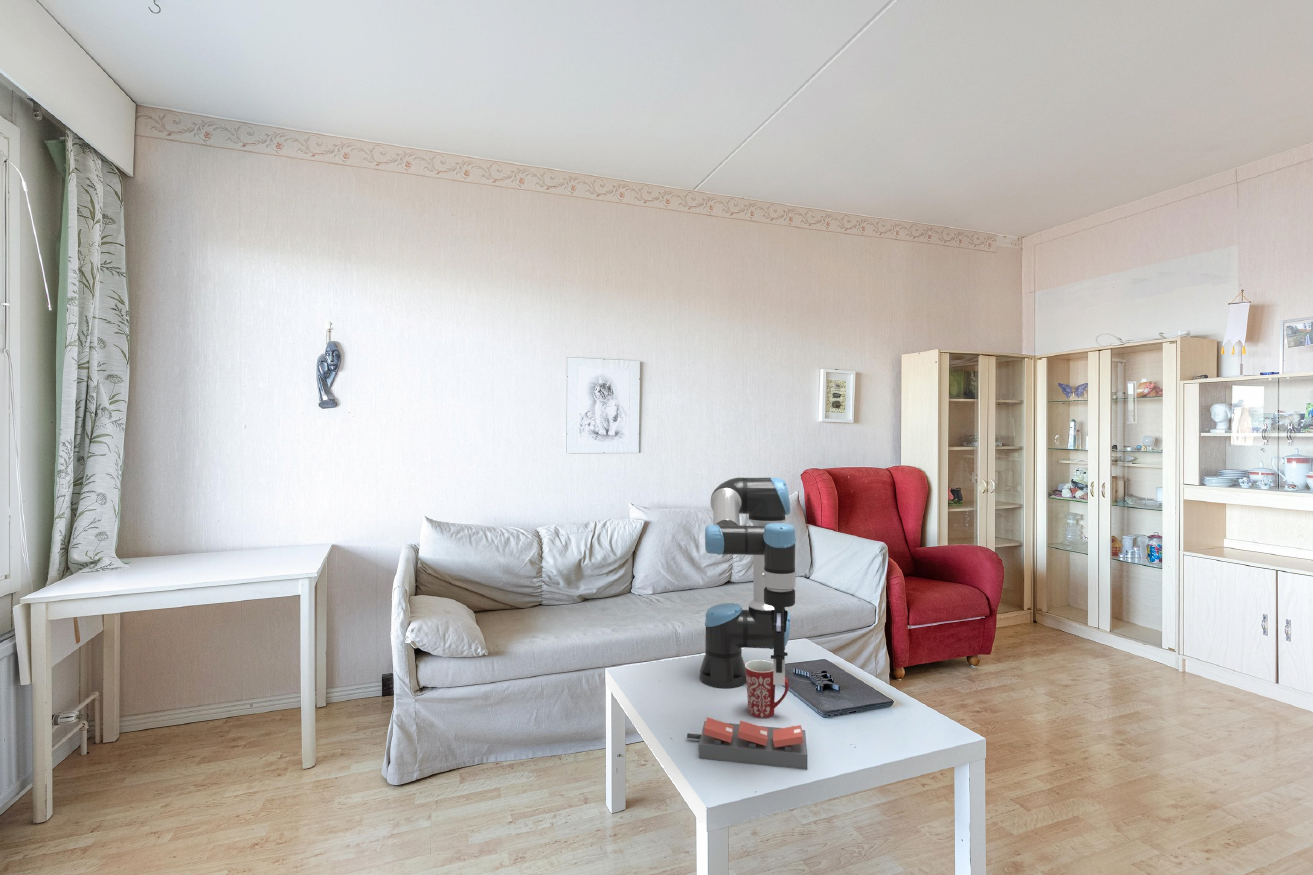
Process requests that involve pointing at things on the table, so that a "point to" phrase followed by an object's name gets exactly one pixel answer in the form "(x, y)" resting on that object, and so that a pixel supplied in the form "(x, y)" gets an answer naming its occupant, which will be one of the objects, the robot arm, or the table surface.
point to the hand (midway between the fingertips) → (779, 683)
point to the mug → (761, 688)
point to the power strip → (752, 750)
